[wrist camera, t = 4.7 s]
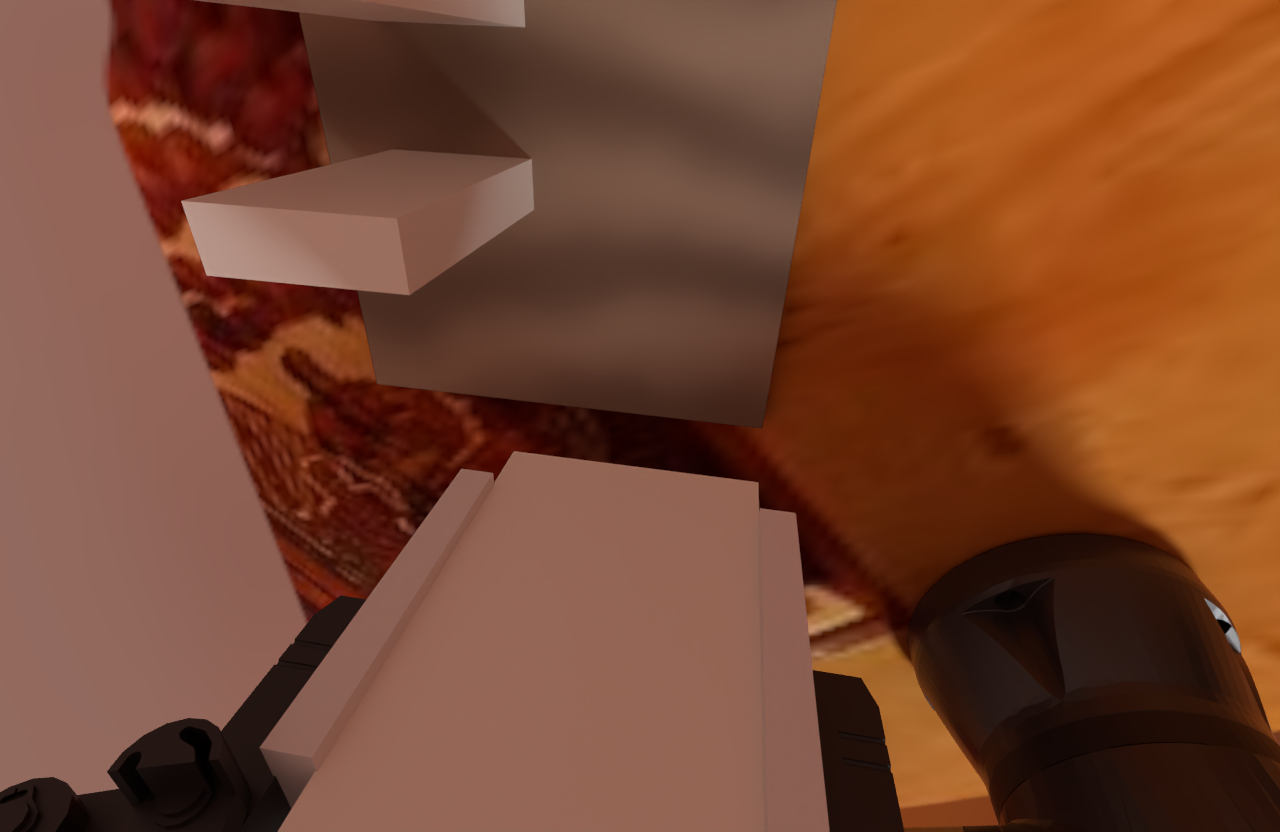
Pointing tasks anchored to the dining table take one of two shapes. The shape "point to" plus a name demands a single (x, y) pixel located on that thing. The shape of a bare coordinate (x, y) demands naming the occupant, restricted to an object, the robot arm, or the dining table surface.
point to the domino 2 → (362, 220)
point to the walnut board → (596, 194)
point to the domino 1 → (404, 10)
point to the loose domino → (569, 668)
